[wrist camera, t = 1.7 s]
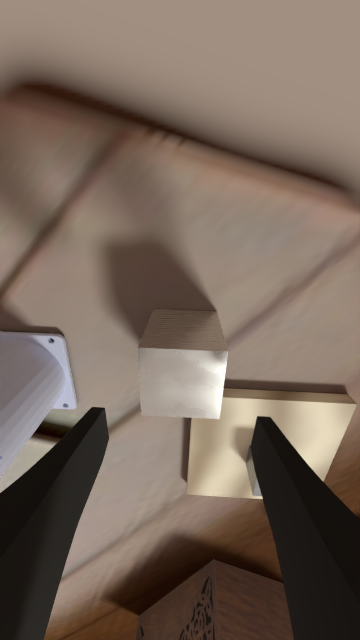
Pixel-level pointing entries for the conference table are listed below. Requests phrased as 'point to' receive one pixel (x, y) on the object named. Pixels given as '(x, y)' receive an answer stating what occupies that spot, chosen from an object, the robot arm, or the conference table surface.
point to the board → (238, 427)
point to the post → (252, 474)
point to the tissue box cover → (219, 608)
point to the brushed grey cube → (182, 364)
